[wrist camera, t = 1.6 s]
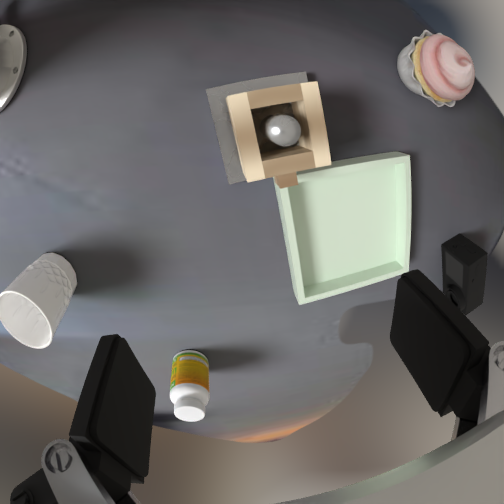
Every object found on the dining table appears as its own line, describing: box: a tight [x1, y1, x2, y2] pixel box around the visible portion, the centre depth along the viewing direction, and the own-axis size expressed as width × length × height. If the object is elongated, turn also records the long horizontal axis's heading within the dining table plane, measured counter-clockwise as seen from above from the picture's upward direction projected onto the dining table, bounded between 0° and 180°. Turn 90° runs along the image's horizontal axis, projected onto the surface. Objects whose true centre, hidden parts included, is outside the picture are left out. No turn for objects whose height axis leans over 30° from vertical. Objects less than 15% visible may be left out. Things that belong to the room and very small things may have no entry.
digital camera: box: [441, 234, 487, 315], centre depth 37 cm, size 10×5×7 cm, turn 24°
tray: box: [273, 151, 411, 305], centre depth 33 cm, size 16×16×3 cm
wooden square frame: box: [226, 81, 332, 189], centre depth 23 cm, size 9×7×4 cm
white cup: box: [0, 252, 77, 348], centre depth 28 cm, size 8×8×10 cm
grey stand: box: [206, 72, 308, 185], centre depth 24 cm, size 10×10×9 cm
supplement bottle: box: [170, 350, 210, 422], centre depth 37 cm, size 5×5×10 cm
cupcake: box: [397, 30, 475, 107], centre depth 22 cm, size 9×9×10 cm
